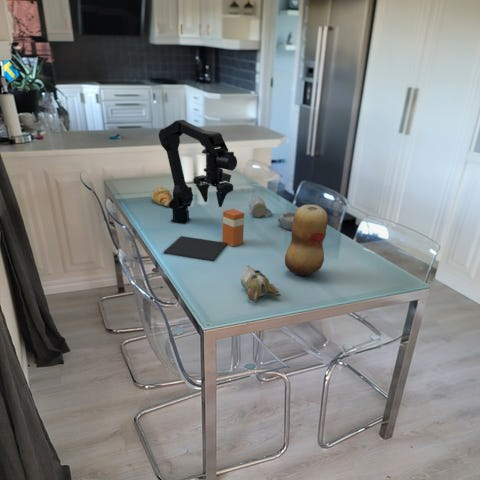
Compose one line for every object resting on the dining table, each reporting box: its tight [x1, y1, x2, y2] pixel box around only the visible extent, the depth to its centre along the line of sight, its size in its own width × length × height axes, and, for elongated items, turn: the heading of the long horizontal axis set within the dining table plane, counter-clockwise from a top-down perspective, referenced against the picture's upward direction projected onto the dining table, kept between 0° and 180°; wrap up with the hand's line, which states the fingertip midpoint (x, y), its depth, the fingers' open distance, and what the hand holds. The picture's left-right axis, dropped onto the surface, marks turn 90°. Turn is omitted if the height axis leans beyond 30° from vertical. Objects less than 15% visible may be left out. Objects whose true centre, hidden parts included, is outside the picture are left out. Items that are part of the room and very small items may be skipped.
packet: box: [221, 208, 245, 247], centre depth 190 cm, size 6×6×13 cm
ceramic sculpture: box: [240, 265, 282, 302], centre depth 154 cm, size 11×9×15 cm
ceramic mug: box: [248, 196, 273, 218], centre depth 223 cm, size 11×8×8 cm
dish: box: [277, 211, 296, 231], centre depth 213 cm, size 14×14×5 cm
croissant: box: [150, 187, 173, 207], centre depth 235 cm, size 21×10×8 cm, turn 27°
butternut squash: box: [284, 204, 329, 277], centre depth 164 cm, size 14×13×25 cm
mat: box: [163, 235, 228, 262], centre depth 187 cm, size 20×18×1 cm
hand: (213, 204), depth 197 cm, fingers open, 9 cm apart
